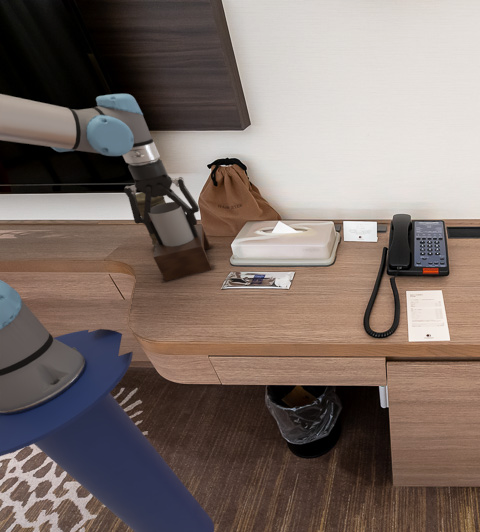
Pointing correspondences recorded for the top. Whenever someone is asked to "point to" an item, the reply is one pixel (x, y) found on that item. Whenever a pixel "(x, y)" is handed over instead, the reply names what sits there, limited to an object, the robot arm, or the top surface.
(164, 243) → the cup
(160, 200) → the container
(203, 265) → the brown wooden block
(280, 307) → the top surface
